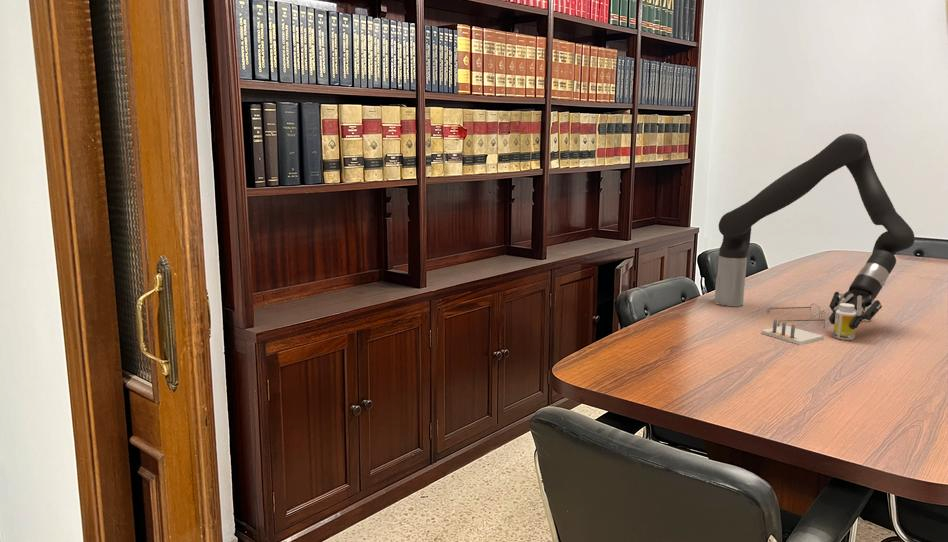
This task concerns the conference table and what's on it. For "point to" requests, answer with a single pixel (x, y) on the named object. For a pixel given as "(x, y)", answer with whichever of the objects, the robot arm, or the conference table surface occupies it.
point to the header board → (791, 334)
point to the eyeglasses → (802, 320)
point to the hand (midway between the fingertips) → (841, 325)
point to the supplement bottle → (844, 322)
